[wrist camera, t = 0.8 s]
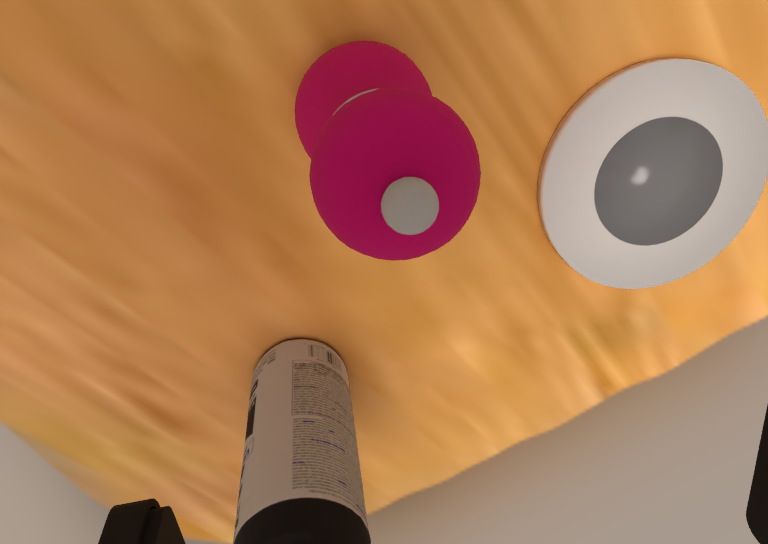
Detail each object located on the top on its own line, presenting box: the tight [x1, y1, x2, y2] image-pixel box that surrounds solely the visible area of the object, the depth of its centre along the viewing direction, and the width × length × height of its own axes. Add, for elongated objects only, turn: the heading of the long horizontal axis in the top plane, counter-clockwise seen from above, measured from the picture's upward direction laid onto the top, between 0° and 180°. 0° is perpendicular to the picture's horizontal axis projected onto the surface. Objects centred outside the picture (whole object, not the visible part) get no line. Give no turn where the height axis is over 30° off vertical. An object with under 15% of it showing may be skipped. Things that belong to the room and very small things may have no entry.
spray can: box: [233, 339, 371, 544], centre depth 35 cm, size 7×7×20 cm
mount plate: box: [537, 58, 768, 289], centre depth 40 cm, size 15×15×1 cm
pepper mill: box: [295, 41, 481, 260], centre depth 27 cm, size 7×7×20 cm
